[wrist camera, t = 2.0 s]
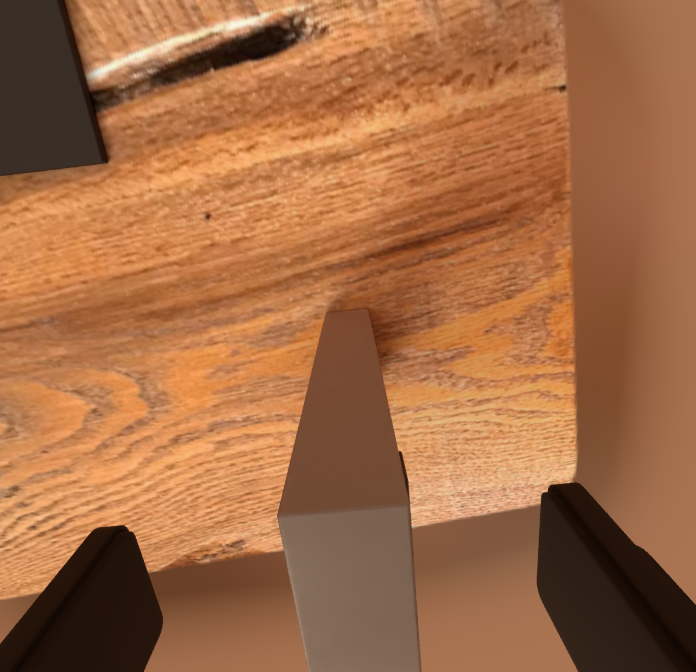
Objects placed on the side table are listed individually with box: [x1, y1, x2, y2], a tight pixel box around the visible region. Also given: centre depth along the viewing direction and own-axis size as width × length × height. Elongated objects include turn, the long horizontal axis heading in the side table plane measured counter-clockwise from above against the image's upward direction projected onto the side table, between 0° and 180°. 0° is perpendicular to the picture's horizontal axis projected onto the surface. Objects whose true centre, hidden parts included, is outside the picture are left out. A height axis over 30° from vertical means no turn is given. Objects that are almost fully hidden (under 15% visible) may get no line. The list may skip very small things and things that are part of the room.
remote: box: [277, 308, 421, 672], centre depth 14 cm, size 4×3×15 cm, turn 6°
